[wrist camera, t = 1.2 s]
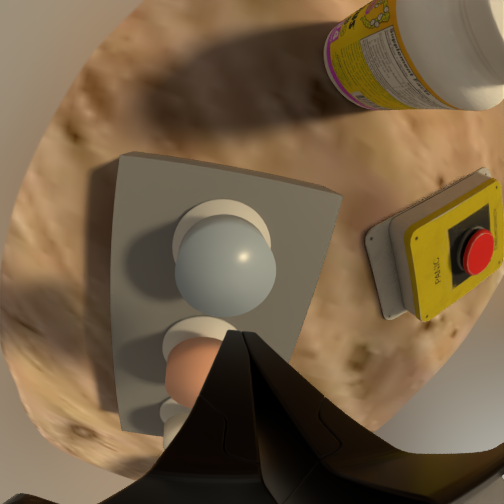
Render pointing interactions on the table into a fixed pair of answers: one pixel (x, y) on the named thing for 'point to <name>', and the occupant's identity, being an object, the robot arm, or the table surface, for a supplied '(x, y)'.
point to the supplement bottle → (420, 55)
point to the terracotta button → (189, 368)
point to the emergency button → (438, 247)
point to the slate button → (224, 266)
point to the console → (165, 256)
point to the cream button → (173, 427)
